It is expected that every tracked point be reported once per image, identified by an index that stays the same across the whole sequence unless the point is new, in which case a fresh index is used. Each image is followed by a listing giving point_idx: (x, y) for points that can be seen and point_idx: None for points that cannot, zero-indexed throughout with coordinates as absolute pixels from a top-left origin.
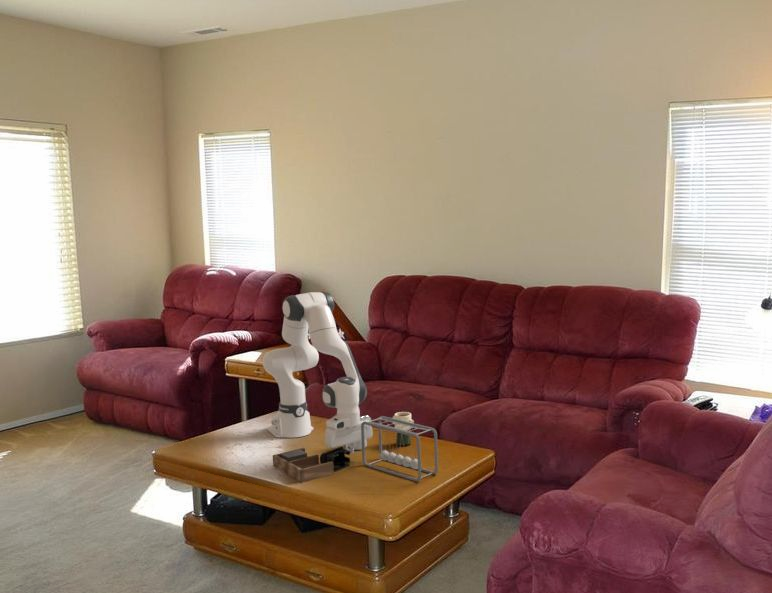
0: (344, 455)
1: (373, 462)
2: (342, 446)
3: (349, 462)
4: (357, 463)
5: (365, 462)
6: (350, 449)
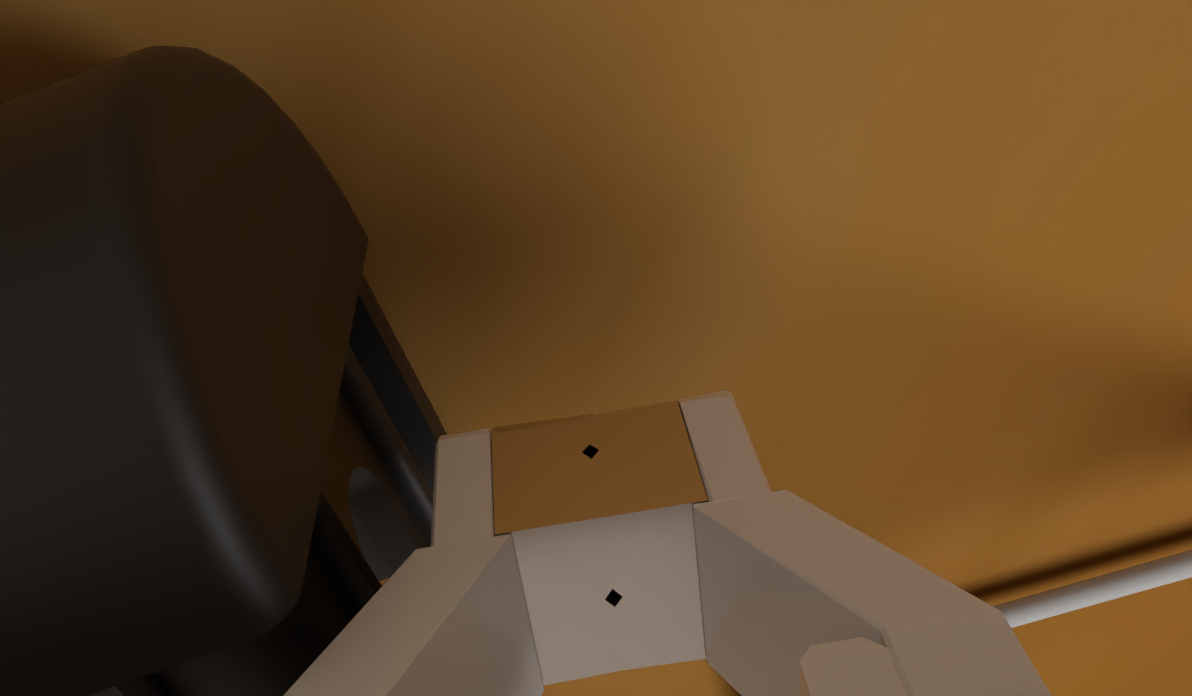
0: (336, 477)
1: None
2: (249, 620)
3: None
4: None
5: None
6: (630, 615)
